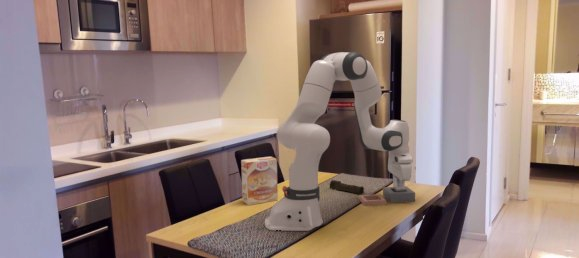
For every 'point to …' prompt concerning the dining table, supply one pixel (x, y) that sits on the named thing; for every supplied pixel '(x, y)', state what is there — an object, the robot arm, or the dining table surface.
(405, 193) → the socket block
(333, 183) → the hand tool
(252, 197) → the coffeecake box
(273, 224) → the robot arm
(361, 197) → the pink square tray
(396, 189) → the spigot
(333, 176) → the dining table surface
